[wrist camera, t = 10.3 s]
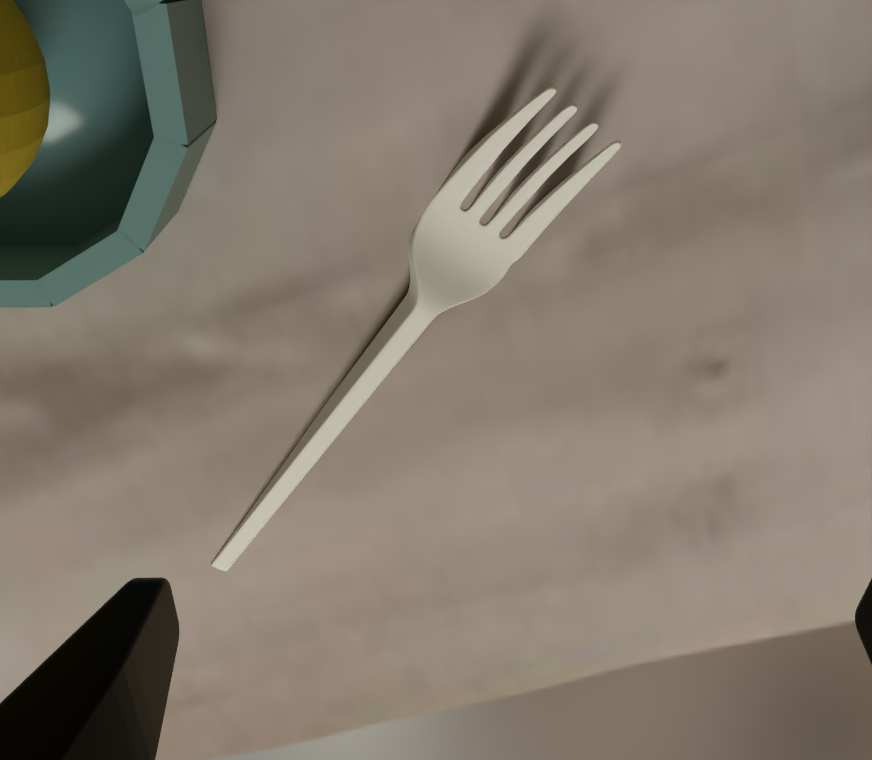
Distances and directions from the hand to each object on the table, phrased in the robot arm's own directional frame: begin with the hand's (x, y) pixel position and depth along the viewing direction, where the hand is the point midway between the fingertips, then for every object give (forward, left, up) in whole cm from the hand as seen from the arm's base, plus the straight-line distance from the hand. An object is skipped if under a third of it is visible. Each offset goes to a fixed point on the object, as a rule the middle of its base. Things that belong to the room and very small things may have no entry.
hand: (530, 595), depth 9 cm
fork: (+3, +4, -14) cm, 14 cm away
